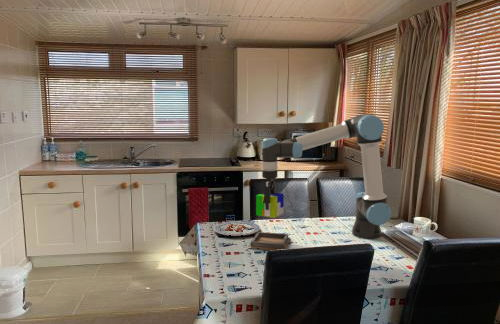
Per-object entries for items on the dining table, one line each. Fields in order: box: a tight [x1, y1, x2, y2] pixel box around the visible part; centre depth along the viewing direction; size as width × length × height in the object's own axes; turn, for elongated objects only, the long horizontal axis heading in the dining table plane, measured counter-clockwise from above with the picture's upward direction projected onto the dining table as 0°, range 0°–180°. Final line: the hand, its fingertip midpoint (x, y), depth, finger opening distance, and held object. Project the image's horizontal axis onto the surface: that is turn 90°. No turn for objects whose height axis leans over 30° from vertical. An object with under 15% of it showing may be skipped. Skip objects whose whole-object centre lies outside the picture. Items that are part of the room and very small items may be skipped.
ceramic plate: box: [213, 220, 261, 237], centre depth 215 cm, size 26×26×3 cm
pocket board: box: [247, 231, 291, 251], centre depth 194 cm, size 18×18×3 cm
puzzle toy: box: [255, 192, 285, 219], centre depth 192 cm, size 10×10×10 cm
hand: (269, 212), depth 192 cm, fingers closed on puzzle toy, 11 cm apart
